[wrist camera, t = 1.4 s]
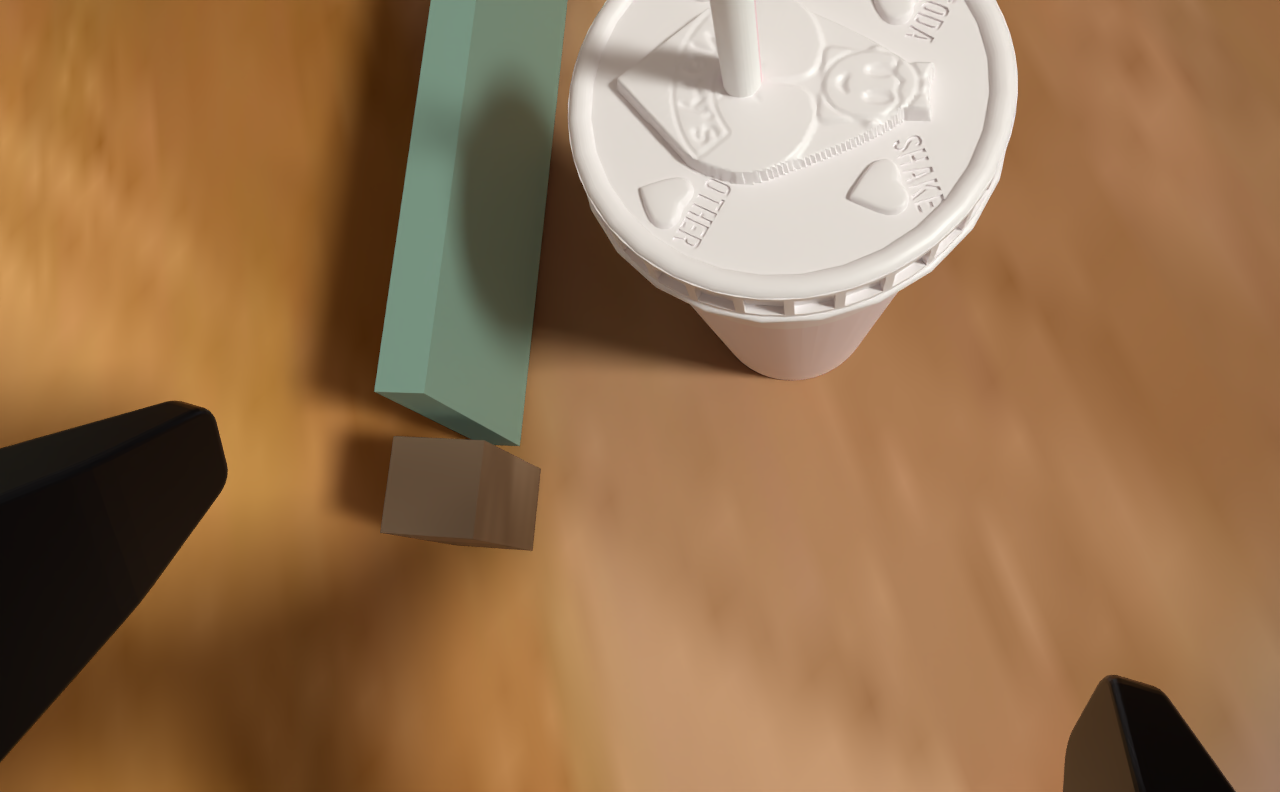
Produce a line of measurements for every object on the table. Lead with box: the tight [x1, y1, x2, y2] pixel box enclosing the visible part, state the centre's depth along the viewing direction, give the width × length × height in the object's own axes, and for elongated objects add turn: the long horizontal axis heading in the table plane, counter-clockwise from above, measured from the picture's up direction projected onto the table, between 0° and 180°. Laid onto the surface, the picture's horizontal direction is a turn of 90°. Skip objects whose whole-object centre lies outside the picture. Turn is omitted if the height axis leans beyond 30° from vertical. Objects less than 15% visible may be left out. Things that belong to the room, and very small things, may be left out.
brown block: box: [380, 436, 541, 551], centre depth 21 cm, size 24×2×7 cm, turn 175°
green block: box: [374, 0, 567, 446], centre depth 21 cm, size 13×2×6 cm, turn 175°
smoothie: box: [568, 0, 1018, 380], centre depth 15 cm, size 6×6×14 cm
